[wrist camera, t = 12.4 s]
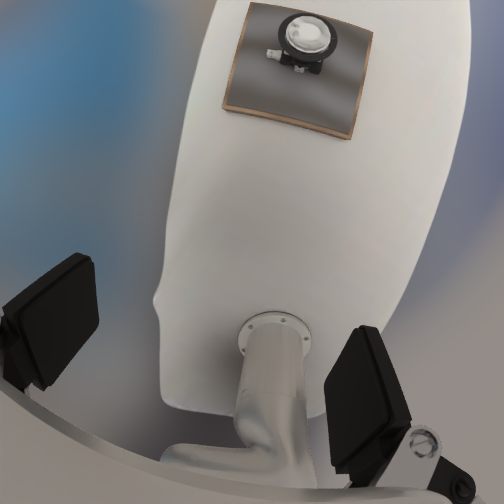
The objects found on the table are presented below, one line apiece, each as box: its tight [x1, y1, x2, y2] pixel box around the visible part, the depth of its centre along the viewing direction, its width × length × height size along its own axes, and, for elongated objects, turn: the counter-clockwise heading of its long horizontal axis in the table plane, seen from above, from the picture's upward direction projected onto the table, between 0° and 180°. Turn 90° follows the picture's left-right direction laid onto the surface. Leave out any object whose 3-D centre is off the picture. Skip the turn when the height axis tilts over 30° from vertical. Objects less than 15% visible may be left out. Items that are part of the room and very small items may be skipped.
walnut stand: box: [222, 2, 373, 140], centre depth 28 cm, size 16×16×4 cm
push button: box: [267, 13, 338, 75], centre depth 22 cm, size 7×5×10 cm
